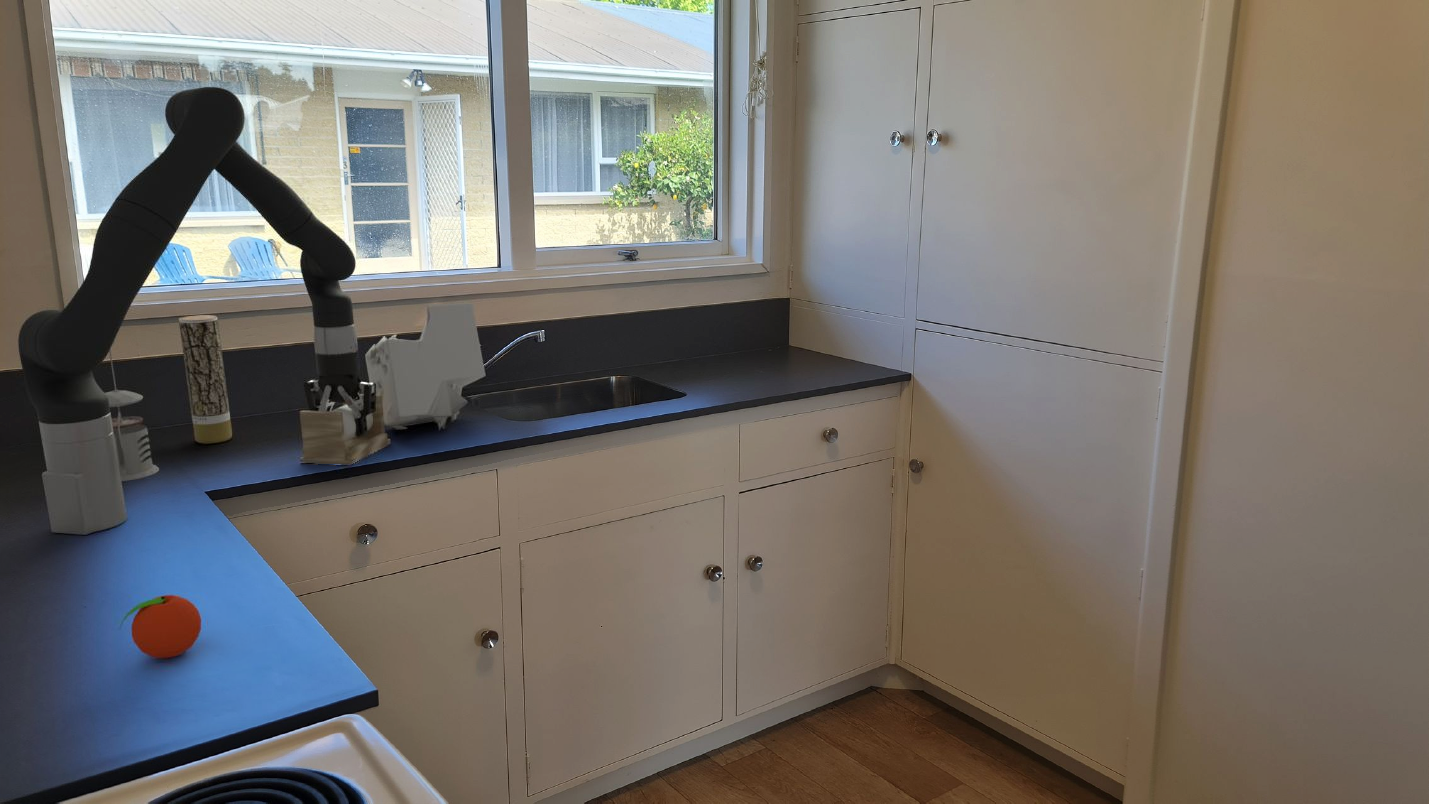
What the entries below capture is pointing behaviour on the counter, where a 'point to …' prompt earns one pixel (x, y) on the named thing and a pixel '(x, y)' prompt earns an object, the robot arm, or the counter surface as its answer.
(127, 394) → the french press
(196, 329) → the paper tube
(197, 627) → the clementine
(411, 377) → the white jagged block
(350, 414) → the roll
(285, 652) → the counter surface
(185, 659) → the counter surface
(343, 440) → the holder
